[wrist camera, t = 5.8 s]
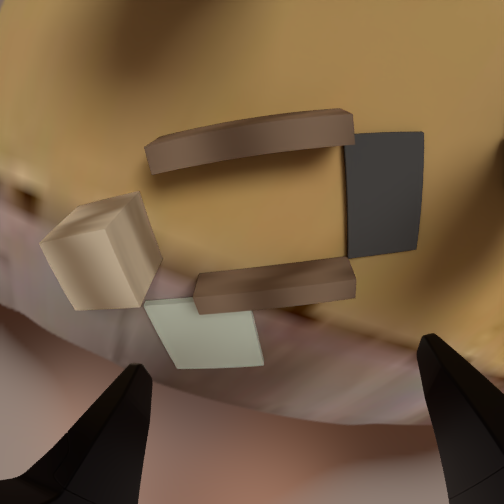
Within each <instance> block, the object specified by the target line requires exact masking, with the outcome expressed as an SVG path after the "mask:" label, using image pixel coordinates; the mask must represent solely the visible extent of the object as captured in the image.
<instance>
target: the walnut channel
mask: <svg viewBox="0 0 504 504" xmlns="http://www.w3.org/2000/svg"><path fill="white" fill-rule="evenodd" d="M343 145H355V136H354V123H353V114H351V113H349V112H347V111H345V110H343V109H340V108H339V109H324V110H313V111H302V112H293V113H284V114H276V115H269V116H262V117H255V118H248V119H242V120H236V121H231V122H225V123H220V124H215V125H209V126H205V127H200V128H195V129H190V130H186V131H182V132H177V133H173V134H169V135H165V136H161V137H159V138H157V139H156V140H154V141H153V142H151V143H150V144H148V145H147V146H145V147H144V149H145V153H146V156H147V160H148V163H149V167H150V170H151V174H152V175H154V174H158V173H163V172H167V171H172V170H177V169H182V168H187V167H192V166H197V165H202V164H207V163H213V162H218V161H224V160H230V159H236V158H242V157H249V156H255V155H262V154H270V153H277V152H285V151H293V150H302V149H311V148H321V147H331V146H343ZM355 294H356V277H355V274H354V272H353V269H352V267H351V264H350V261H349V259H348V256H344V257H336V258H329V259H321V260H312V261H304V262H296V263H288V264H280V265H271V266H263V267H254V268H245V269H237V270H228V271H219V272H210V273H201V274H199V277H198V280H197V284H196V287H195V291H194V294H193V300H194V303H195V305H196V308H197V311H198V313H199V315H205V314H218V313H230V312H241V311H252V310H262V309H272V308H281V307H290V306H299V305H307V304H315V303H323V302H330V301H338V300H345V299H352V298H355Z"/></svg>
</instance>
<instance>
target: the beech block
mask: <svg viewBox="0 0 504 504" xmlns="http://www.w3.org/2000/svg"><path fill="white" fill-rule="evenodd" d="M39 244H40V246H41V249H42V251H43V253H44V255H45V257H46V259H47V261H48V263H49V265H50V266H51V268H52V270H53V272H54V274H55V276H56V278H57V280H58V281H59V283H60V285H61V287H62V289H63V290H64V292H65V294H66V296H67V297H68V299H69V301H70V302H71V304H72V306H73V307H74V309H75V310H99V309H119V308H137V307H141V304H142V302H143V300H144V298H145V295H146V293H147V291H148V289H149V287H150V285H151V282H152V280H153V278H154V276H155V274H156V272H157V270H158V268H159V265H160V263H161V261H162V259H163V257H162V255H161V252H160V249H159V247H158V244H157V241H156V238H155V235H154V233H153V230H152V227H151V224H150V221H149V218H148V215H147V212H146V209H145V206H144V203H143V200H142V197H141V194H140V191H137V192H133V193H128V194H124V195H120V196H116V197H112V198H108V199H104V200H100V201H96V202H92V203H88V204H84V205H81V206H78V207H77V208H76V209H75V210H74V211H72V212H71V213H70V214H69V215H68V216H67V217H66V218H65V219H64V220H63V221H62V222H60V223H59V224H58V225H57V226H56V227H55V228H54V229H53V230H52V231H51V232H50V233H49V234H48V235H47V236H46V237H45V238H44V239H43V240H42V241H41V242H40V243H39Z"/></svg>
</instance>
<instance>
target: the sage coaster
mask: <svg viewBox="0 0 504 504" xmlns="http://www.w3.org/2000/svg"><path fill="white" fill-rule="evenodd" d="M144 308H145V310H146V312H147V314H148V316H149V318H150V320H151V322H152V324H153V326H154V328H155V330H156V331H157V333H158V335H159V337H160V339H161V341H162V343H163V344H164V346H165V348H166V350H167V352H168V354H169V355H170V357H171V359H172V361H173V362H174V364H175V366H176V368H177V369H207V368H233V367H250V366H264V358H263V354H262V350H261V346H260V342H259V337H258V333H257V329H256V325H255V320H254V316H253V312H252V311H241V312H230V313H218V314H205V315H199V313H198V311H197V308H196V305H195V303H194V300H193V297H187V298H175V299H162V300H149V301H145V303H144Z"/></svg>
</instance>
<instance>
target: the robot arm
mask: <svg viewBox="0 0 504 504" xmlns="http://www.w3.org/2000/svg"><path fill="white" fill-rule="evenodd" d="M417 361H418V366H419V370H420V375H421V380H422V386H423V391H424V396H425V400H426V404H427V408H428V411H429V414H430V418H431V422H432V425H433V429H434V433H435V437H436V440H437V445H438V449H439V453H440V458H441V462H442V467H443V471H444V476H445V481H446V487H447V492H448V498H449V504H504V394H503V393H502V392H501V391H500V390H499V389H498V388H497V387H496V386H494V385H493V384H492V383H491V382H490V381H489V380H488V379H487V378H486V377H485V376H483V375H482V374H481V373H480V372H479V371H478V370H477V369H476V368H474V367H473V366H472V365H471V364H470V363H469V362H468V361H467V360H465V359H464V358H463V357H462V356H461V355H460V354H458V353H457V352H456V351H455V350H454V349H453V348H452V347H450V346H449V345H448V344H447V343H446V342H444V341H443V340H442V339H441V338H440V337H439V336H437V335H436V334H434V333H431V334H427V335H423V336H422V338H421V341H420V344H419V347H418V350H417ZM151 397H152V378H151V376H150V375H149V373H148V372H147V370H146V369H145V367H144V366H143V365H142V364H136V363H132V364H130V365H128V366H127V368H126V369H125V370H124V371H123V372H122V373H121V374H120V375H119V376H118V377H117V378H116V379H115V381H114V382H113V383H112V384H111V385H110V386H109V387H108V388H107V389H106V390H105V391H104V392H103V393H102V395H101V396H100V397H99V398H98V399H97V400H96V401H95V402H94V403H93V404H92V405H91V406H90V408H89V409H88V410H87V411H86V412H85V413H84V414H83V415H82V416H81V417H80V418H79V420H78V421H77V422H76V423H75V424H74V425H73V426H72V427H71V428H70V429H69V430H68V433H66V434H65V435H64V436H63V437H62V438H61V439H60V440H59V441H58V442H57V443H56V444H55V446H54V447H53V448H52V449H50V450H49V451H48V452H47V453H46V454H45V455H44V456H43V457H42V458H41V459H40V460H38V461H37V462H36V463H35V464H34V465H33V466H32V467H31V468H30V469H29V470H27V471H26V472H25V473H24V474H22V475H20V476H18V477H15V478H12V479H6V480H0V504H138V498H139V490H140V481H141V475H142V468H143V461H144V455H145V448H146V442H147V436H148V430H149V424H150V413H151Z"/></svg>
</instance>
